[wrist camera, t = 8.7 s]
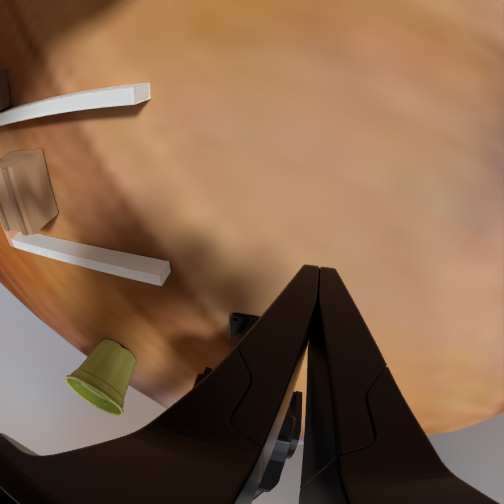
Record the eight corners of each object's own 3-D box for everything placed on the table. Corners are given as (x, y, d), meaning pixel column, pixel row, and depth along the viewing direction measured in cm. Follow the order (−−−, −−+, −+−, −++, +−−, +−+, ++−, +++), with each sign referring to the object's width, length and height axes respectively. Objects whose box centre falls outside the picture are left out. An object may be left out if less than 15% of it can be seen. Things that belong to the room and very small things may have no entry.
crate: (58, 213, 26) (31, 237, 23) (26, 208, 27) (1, 229, 24) (42, 148, 22) (9, 168, 18) (10, 151, 23) (-19, 170, 19)
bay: (170, 271, 27) (161, 286, 25) (20, 236, 30) (10, 246, 29) (149, 82, 17) (133, 86, 15) (-14, 116, 20) (-27, 122, 19)
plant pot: (82, 326, 39) (53, 371, 32) (127, 334, 36) (97, 387, 30) (111, 364, 44) (89, 405, 38) (156, 374, 42) (134, 422, 35)
